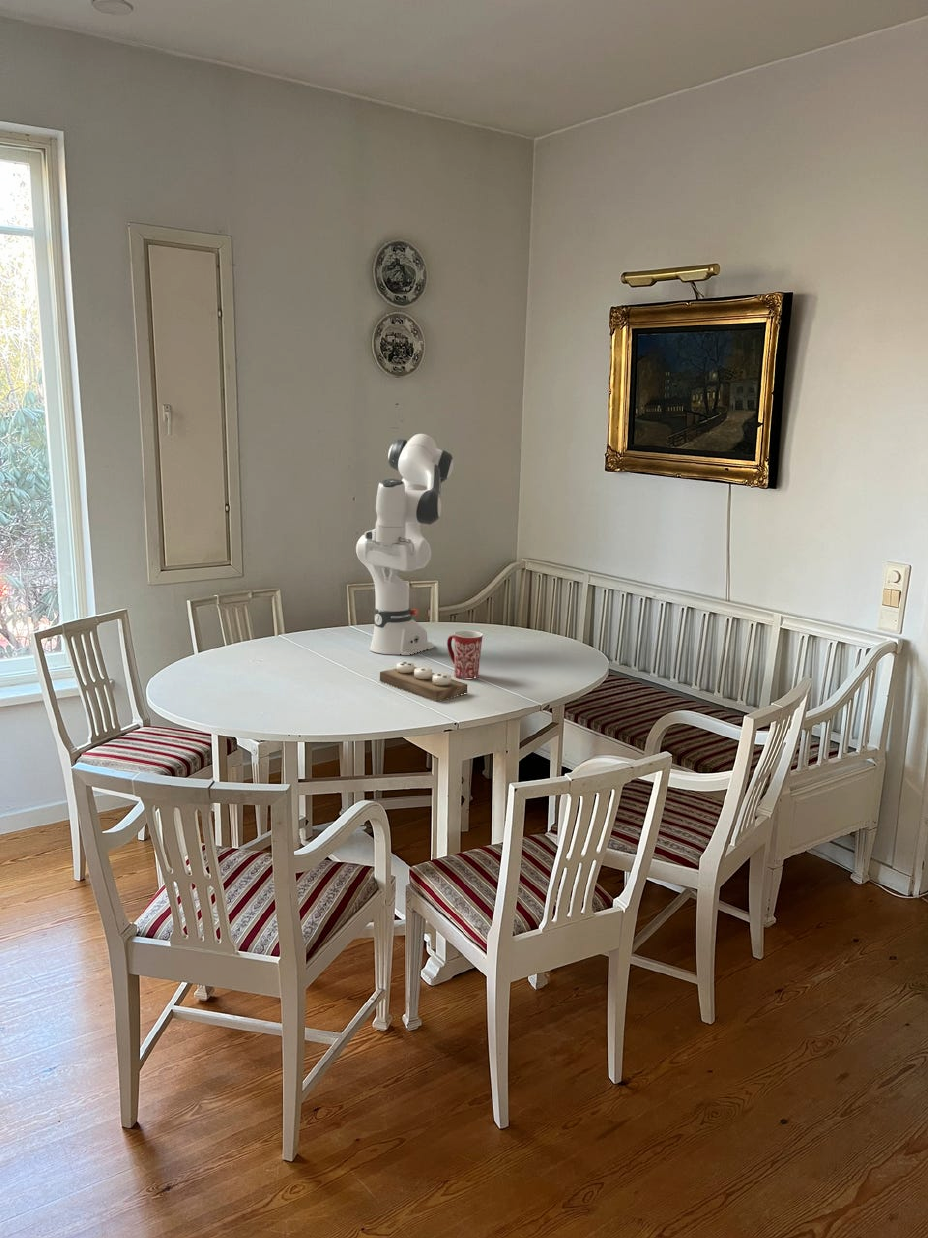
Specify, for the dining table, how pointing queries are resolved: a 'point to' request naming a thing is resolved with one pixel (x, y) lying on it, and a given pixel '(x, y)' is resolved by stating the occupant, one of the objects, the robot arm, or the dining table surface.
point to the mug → (465, 653)
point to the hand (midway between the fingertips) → (389, 582)
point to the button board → (422, 685)
